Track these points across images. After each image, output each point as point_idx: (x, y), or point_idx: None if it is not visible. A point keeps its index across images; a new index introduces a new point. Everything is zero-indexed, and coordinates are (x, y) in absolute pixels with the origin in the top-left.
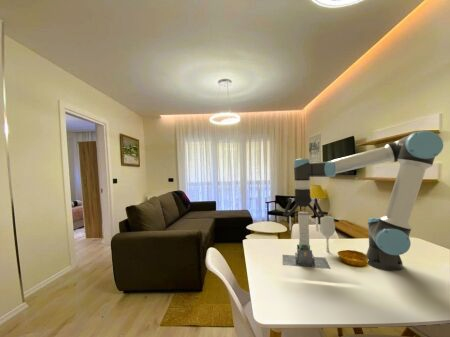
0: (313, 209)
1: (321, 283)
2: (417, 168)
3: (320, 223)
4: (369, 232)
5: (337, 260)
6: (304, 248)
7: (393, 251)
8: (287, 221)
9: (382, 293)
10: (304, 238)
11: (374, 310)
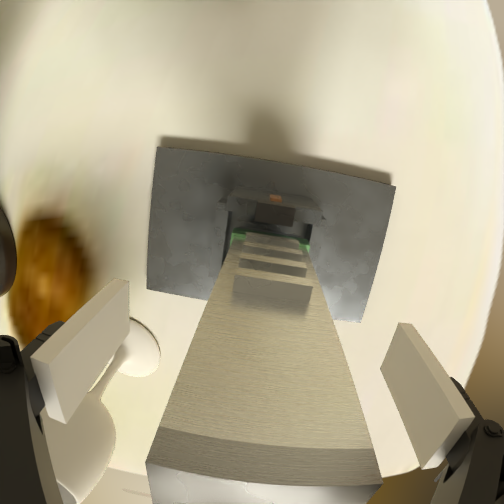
0: (7, 499)
1: (247, 26)
2: None
3: (50, 326)
4: None
5: (100, 278)
6: (280, 205)
7: None
8: (461, 391)
9: (69, 11)
10: (272, 247)
11: None
